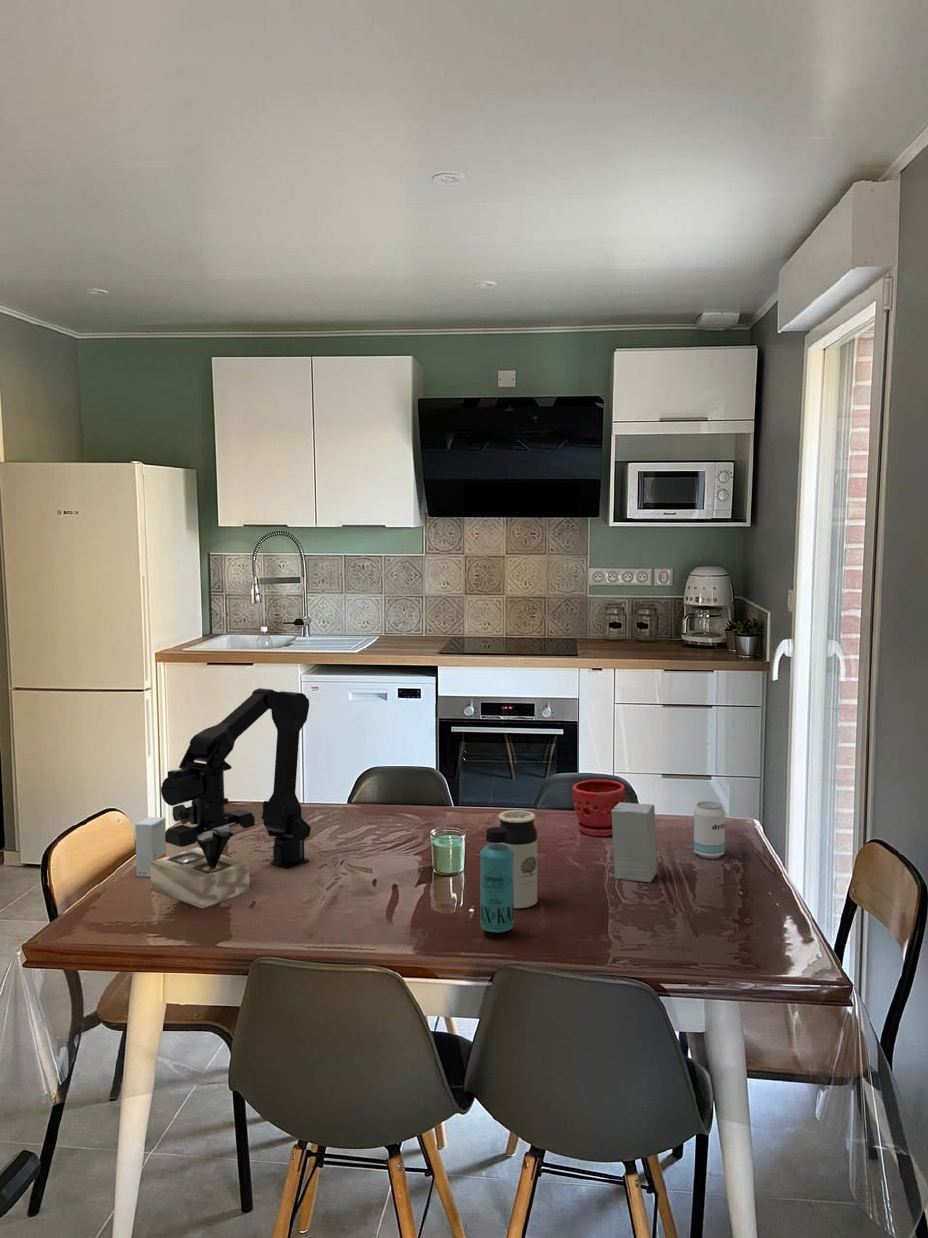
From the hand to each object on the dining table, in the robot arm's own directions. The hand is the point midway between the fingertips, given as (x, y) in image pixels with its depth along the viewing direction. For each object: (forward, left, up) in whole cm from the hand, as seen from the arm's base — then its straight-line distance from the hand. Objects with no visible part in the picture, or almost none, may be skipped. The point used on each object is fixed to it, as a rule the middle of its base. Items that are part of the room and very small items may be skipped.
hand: (212, 867), depth 194 cm
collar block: (0, -5, -6) cm, 7 cm away
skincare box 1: (0, -23, -6) cm, 23 cm away
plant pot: (-86, +42, -6) cm, 96 cm away
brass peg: (0, 0, -6) cm, 6 cm away
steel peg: (0, -9, -6) cm, 11 cm away
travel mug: (-35, +53, -6) cm, 64 cm away
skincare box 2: (-62, +65, -6) cm, 90 cm away
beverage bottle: (-20, +59, -6) cm, 63 cm away
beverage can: (-85, +72, -6) cm, 112 cm away
